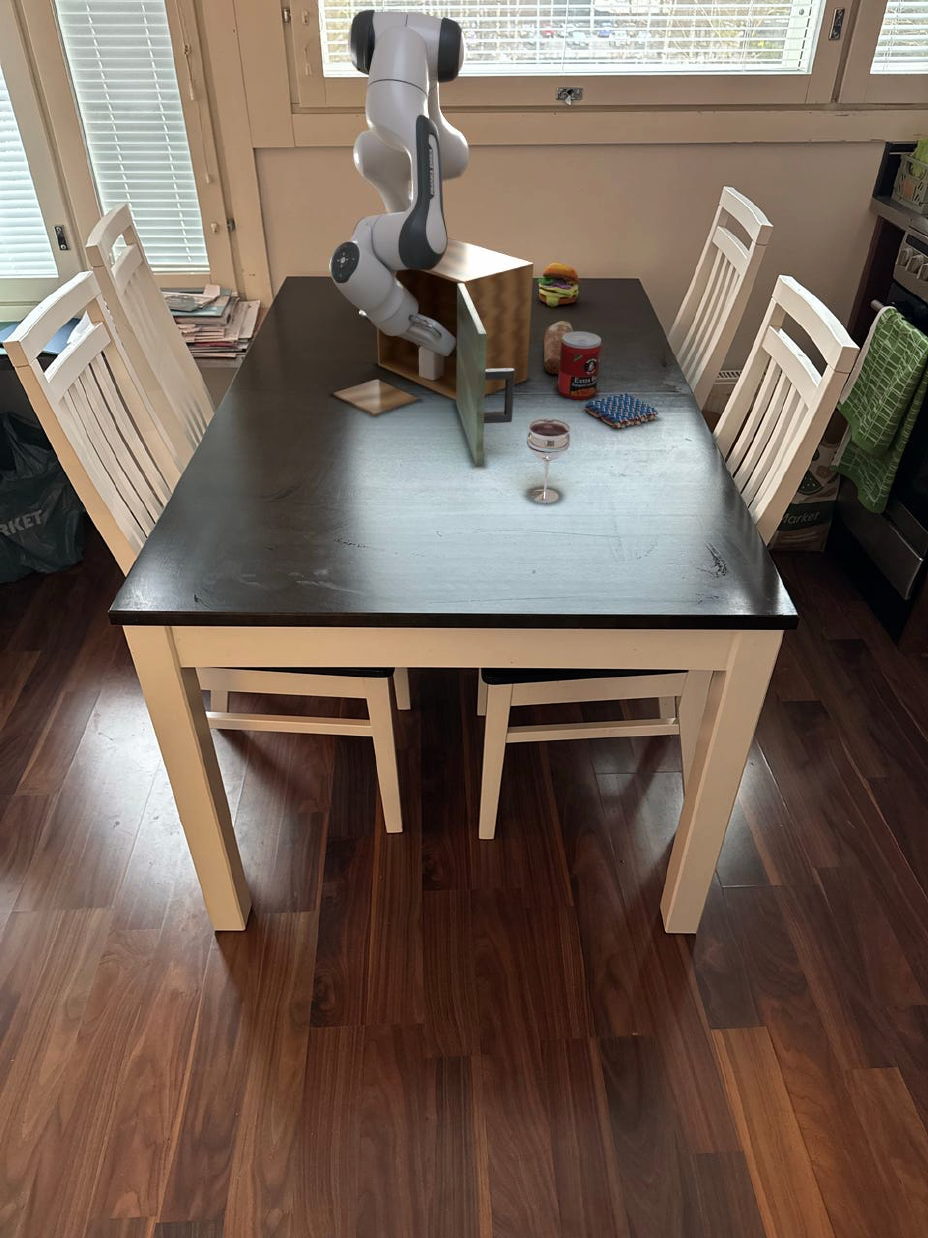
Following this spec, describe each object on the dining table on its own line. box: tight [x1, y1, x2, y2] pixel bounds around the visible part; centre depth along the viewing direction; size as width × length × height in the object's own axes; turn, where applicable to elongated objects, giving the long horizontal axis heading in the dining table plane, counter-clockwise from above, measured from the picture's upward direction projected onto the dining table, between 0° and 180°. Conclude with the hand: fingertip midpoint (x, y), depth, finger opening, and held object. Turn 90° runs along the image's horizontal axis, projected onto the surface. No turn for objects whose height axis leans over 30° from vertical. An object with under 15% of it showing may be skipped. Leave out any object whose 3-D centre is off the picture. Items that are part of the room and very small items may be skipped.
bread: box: [543, 320, 575, 375], centre depth 196 cm, size 6×19×6 cm, turn 170°
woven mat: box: [584, 392, 659, 429], centre depth 174 cm, size 10×11×2 cm
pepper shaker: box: [419, 346, 444, 380], centre depth 185 cm, size 4×4×10 cm
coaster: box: [333, 378, 420, 417], centre depth 180 cm, size 13×11×1 cm
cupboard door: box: [455, 283, 515, 467], centre depth 161 cm, size 6×26×23 cm, turn 8°
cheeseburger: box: [537, 262, 581, 308], centre depth 228 cm, size 10×11×10 cm
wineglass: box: [526, 418, 572, 504], centre depth 146 cm, size 7×7×12 cm
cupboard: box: [376, 237, 534, 401], centre depth 184 cm, size 18×26×23 cm
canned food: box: [557, 330, 602, 401], centre depth 180 cm, size 8×8×11 cm
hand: (433, 348), depth 185 cm, fingers closed on pepper shaker, 4 cm apart
